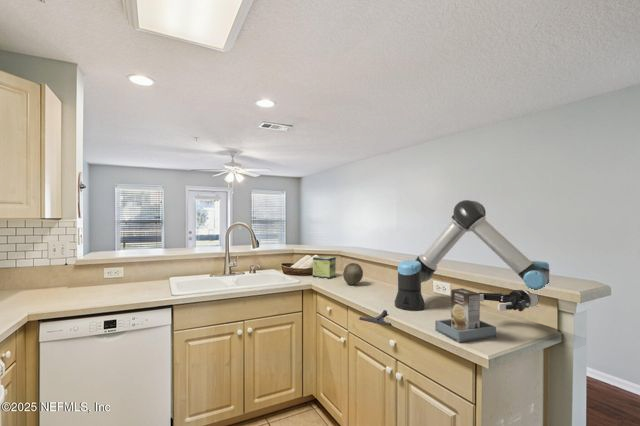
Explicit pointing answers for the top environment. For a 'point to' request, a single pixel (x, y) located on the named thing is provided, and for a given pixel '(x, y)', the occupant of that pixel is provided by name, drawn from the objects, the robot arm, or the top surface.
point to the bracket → (377, 319)
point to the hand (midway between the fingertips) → (484, 302)
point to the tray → (465, 331)
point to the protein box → (324, 267)
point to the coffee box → (465, 309)
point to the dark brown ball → (353, 273)
